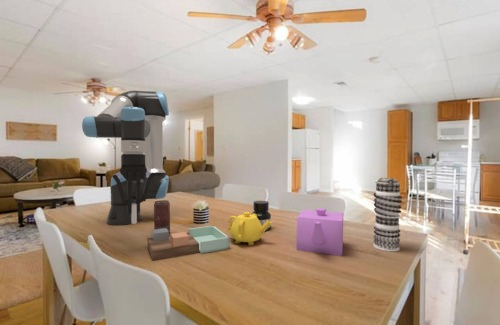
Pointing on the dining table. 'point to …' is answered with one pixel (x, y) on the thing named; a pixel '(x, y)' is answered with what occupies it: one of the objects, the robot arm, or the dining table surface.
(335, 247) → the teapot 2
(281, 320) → the dining table surface
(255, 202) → the ink bottle
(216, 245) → the tray
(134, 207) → the robot arm
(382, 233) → the decorative candle
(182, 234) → the terracotta tile
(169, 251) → the plate
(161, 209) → the can
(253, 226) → the teapot
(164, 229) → the grey square block
